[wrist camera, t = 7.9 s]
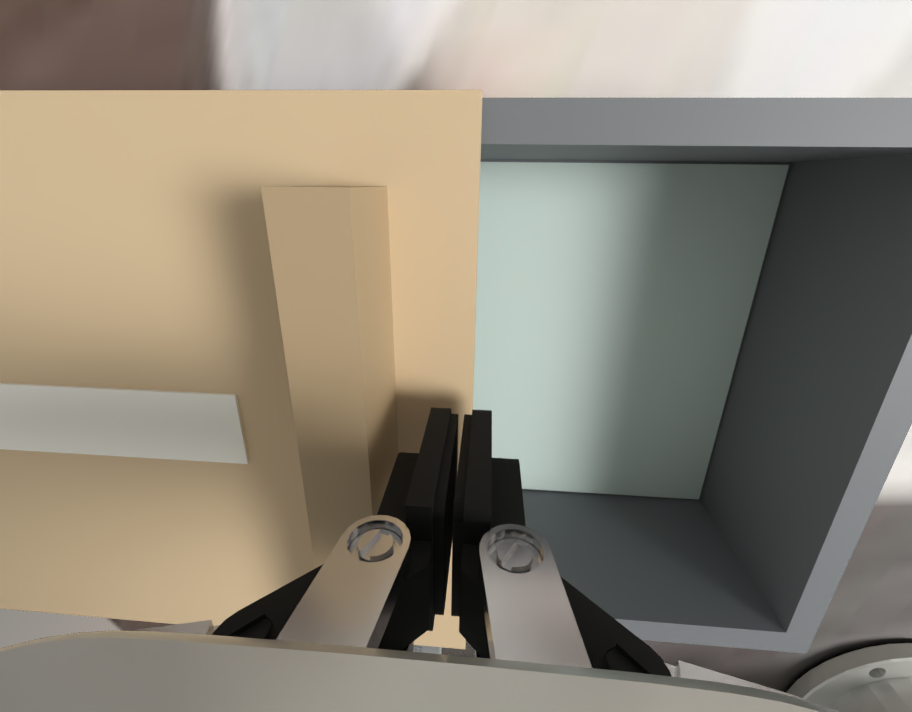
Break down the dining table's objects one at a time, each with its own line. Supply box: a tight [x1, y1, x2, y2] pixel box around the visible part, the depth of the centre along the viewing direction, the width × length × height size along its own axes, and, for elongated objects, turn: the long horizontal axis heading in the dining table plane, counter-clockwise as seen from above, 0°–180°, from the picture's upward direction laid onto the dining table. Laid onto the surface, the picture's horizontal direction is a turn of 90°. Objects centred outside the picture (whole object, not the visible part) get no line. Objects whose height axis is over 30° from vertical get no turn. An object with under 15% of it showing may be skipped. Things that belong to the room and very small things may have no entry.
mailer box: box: [473, 98, 912, 654], centre depth 17 cm, size 24×18×8 cm
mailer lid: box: [0, 90, 483, 649], centre depth 13 cm, size 24×18×4 cm
